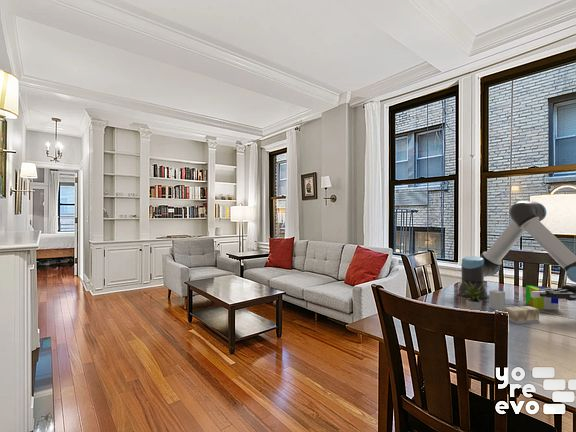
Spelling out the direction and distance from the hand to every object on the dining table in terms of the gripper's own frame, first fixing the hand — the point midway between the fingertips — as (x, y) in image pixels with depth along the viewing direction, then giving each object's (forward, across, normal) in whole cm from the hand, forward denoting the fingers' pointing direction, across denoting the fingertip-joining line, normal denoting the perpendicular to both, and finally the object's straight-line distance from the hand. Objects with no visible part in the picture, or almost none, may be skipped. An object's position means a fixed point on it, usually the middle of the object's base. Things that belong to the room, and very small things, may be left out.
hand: (532, 294), depth 145 cm
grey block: (+3, +18, -12) cm, 21 cm away
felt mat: (+6, 0, -12) cm, 13 cm away
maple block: (-2, +1, -9) cm, 9 cm away
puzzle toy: (-23, +17, -12) cm, 31 cm away
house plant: (+21, +14, -12) cm, 28 cm away
